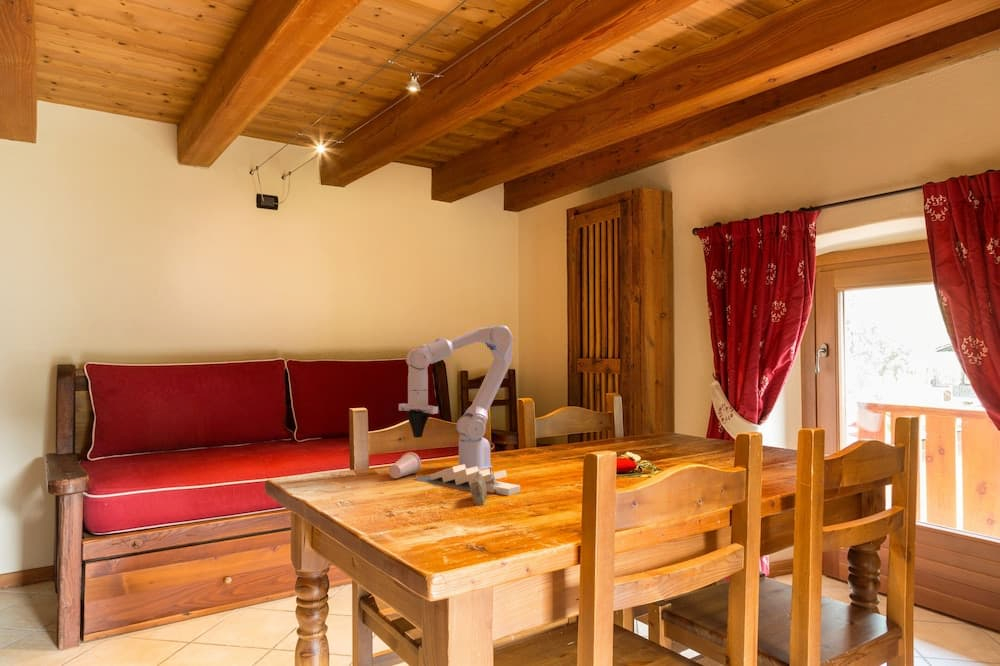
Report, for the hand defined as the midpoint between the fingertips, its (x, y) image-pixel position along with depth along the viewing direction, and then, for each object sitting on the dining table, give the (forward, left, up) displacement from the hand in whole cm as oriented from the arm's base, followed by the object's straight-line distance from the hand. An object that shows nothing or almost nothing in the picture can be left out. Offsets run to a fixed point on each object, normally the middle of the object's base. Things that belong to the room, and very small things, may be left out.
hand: (417, 437), depth 184 cm
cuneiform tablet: (+12, +35, -11) cm, 39 cm away
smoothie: (+12, +3, -8) cm, 14 cm away
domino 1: (+3, +11, -9) cm, 15 cm away
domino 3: (+3, +20, -9) cm, 22 cm away
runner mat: (+3, +19, -10) cm, 22 cm away
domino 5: (+3, +29, -9) cm, 31 cm away
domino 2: (+3, +15, -9) cm, 18 cm away
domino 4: (+3, +25, -9) cm, 27 cm away
